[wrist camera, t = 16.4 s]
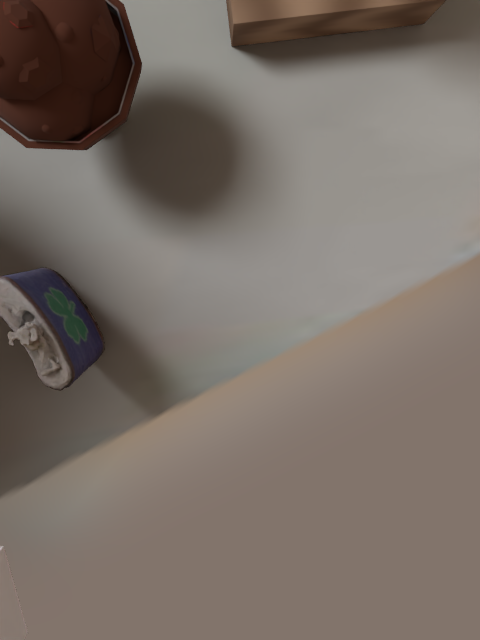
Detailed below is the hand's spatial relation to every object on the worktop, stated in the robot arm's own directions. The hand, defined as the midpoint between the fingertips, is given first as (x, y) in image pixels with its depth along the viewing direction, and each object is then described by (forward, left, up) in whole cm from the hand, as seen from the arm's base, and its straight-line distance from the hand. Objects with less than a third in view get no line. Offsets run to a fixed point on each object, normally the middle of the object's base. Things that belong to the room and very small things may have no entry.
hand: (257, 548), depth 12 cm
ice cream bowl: (-9, +20, -30) cm, 37 cm away
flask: (-14, +3, -30) cm, 33 cm away
